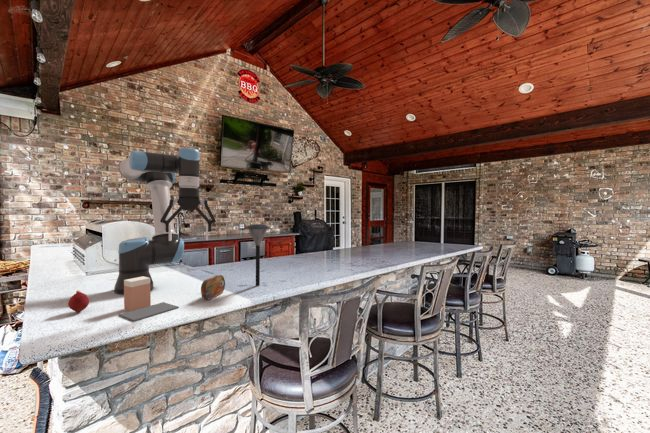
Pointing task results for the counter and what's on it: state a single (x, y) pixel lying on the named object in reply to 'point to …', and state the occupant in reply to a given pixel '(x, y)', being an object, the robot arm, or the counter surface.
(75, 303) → the onion
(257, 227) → the solar garden light
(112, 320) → the counter surface
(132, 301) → the terracotta block
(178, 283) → the counter surface
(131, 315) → the mat
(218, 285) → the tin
